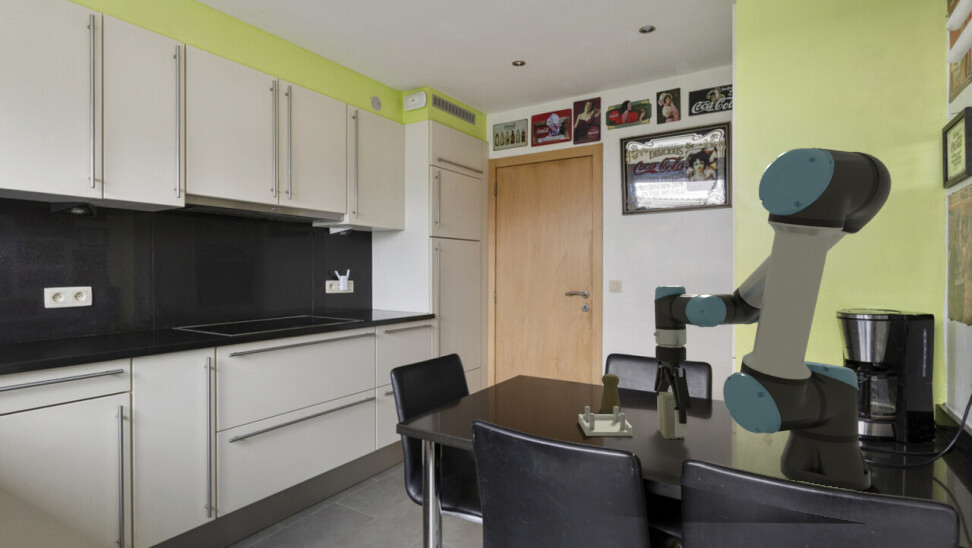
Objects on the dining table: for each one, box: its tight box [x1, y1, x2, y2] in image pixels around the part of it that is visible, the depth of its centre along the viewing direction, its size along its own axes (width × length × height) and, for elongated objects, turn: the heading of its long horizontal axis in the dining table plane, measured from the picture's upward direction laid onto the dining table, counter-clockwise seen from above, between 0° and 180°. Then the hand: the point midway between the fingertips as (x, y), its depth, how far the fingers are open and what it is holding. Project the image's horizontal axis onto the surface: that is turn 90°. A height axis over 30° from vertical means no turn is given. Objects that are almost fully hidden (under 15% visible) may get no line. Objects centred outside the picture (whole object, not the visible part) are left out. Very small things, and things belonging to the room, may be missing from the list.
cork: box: [600, 373, 622, 414], centre depth 149 cm, size 6×6×11 cm
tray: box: [578, 405, 634, 437], centre depth 130 cm, size 12×12×5 cm
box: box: [659, 391, 685, 439], centre depth 124 cm, size 5×4×11 cm
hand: (671, 427), depth 124 cm, fingers open, 13 cm apart
